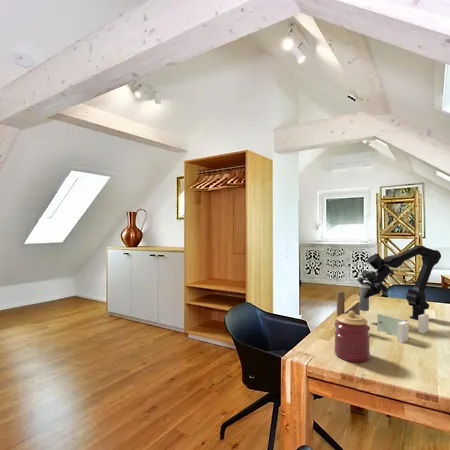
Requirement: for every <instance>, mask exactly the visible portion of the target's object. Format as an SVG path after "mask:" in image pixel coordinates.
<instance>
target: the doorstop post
mask: <svg viewBox="0 0 450 450" xmlns="http://www.w3.org/2000/svg"><path fill="white" fill-rule="evenodd" d="M369 289H370V287H369V285H361V284H359V292H360V296H359V302H360V311H362V312H368V311H369V310H370V297H368V298H364V296H365V295H366V293H367V292H368V290H369Z"/></svg>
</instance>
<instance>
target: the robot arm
mask: <svg viewBox="0 0 450 450" xmlns="http://www.w3.org/2000/svg"><path fill="white" fill-rule="evenodd" d="M418 255H420V256H421V261H422V262H421V263H422V265H421V268H420V271H419V273H418V276H417V279H416V281H415V284H414V286H413V288H408V290H407V292H406V293H407V294H406V295H405V297H406V301H407V303H408V305H409V306H411V307H412V308H411V309H412V311H411V312H412V315H411V316H409V318H410V319H414V320H418V316H419V315H422V314H426V312H425V311H426V310H428V309H429V307H430V304H429V303H428V302H427V301H426V296H427V295H426V292H425V289H426V287H427V284H428V282H429V279H430V277H431V273H432V271H433V268H434V266H436V265H437V264H439V261H440V260H441V257H442V254H441V252H440V251H439V250H437V249H432V248H429V247H426V246H425V245H418V244H416V245H414V246H413V247H411V248H409V249H407V250H405V251H402V252H400V253H398V254H392V255H388V256H385V257H384V258H382V257H381V255H379V253H374V254H373V255H371V256H369V257H368V258H367V259H366V262H367V263H368V264H369V266H371V267H372V268H373V270H370V271H368V270H364V269H363V270H362V271H361V274H360V277H358V278H357V279H356V280H357V282H358V283H359V285H369V290H368V292H367V293H366V295H365V296H364V298H368V297H369V298H370V297H372V296H376V295H378V294H381V293H382V294H384V295H386V294H387V293H388V292H389V288H388V287H387V286H386V285H385V284H384V283H386V279H387V278H388V276H389V275H392V276H394V275H395V272H394V269H398V268H399V267H401V266H403V264H404V262H405V261H408V260H410V259H412V258H414V257H416V256H418ZM391 268H393V269H391ZM374 270H376V271H374ZM358 296H359V297H360V291H359V293H358Z"/></svg>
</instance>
